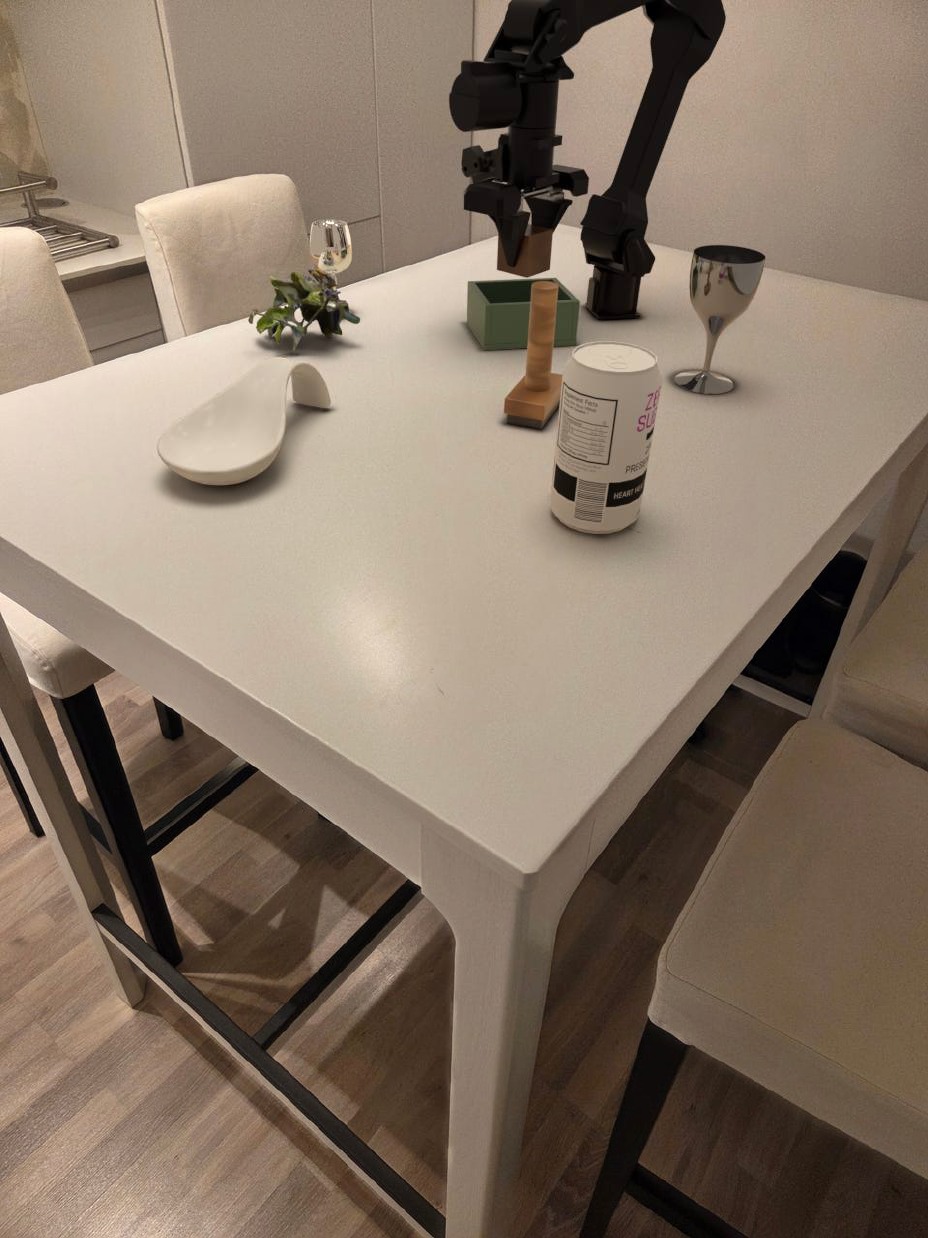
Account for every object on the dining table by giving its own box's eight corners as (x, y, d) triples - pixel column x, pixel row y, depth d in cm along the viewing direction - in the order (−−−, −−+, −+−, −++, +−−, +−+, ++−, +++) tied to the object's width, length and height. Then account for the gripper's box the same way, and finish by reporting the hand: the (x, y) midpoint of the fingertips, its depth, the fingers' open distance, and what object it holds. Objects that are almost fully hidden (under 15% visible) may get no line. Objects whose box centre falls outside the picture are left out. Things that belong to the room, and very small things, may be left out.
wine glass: (739, 375, 108) (767, 249, 99) (733, 399, 102) (763, 267, 93) (675, 366, 110) (697, 241, 101) (666, 389, 104) (689, 258, 95)
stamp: (565, 400, 101) (578, 275, 92) (542, 431, 94) (554, 300, 85) (528, 393, 102) (536, 270, 93) (502, 423, 95) (510, 294, 87)
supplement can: (542, 493, 83) (556, 338, 74) (626, 491, 83) (651, 338, 74) (557, 538, 76) (574, 375, 67) (648, 536, 77) (677, 374, 68)
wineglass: (359, 308, 125) (354, 219, 118) (351, 321, 121) (346, 229, 113) (320, 306, 125) (313, 217, 118) (310, 319, 121) (303, 227, 114)
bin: (552, 319, 123) (556, 277, 120) (575, 345, 115) (580, 301, 112) (466, 323, 121) (467, 280, 118) (483, 350, 113) (485, 305, 109)
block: (519, 262, 116) (522, 222, 112) (550, 269, 113) (553, 229, 110) (496, 269, 112) (498, 228, 109) (527, 277, 110) (529, 236, 107)
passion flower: (329, 375, 119) (377, 307, 112) (289, 390, 109) (340, 316, 103) (268, 318, 118) (314, 245, 112) (224, 327, 109) (270, 249, 103)
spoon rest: (247, 512, 79) (237, 440, 74) (138, 489, 82) (122, 418, 77) (358, 412, 97) (355, 349, 92) (265, 396, 100) (258, 334, 95)
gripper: (525, 110, 112) (518, 237, 122) (429, 125, 101) (429, 264, 111) (597, 119, 107) (584, 252, 116) (503, 137, 95) (497, 282, 105)
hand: (524, 261), depth 112 cm, fingers closed on block, 5 cm apart
